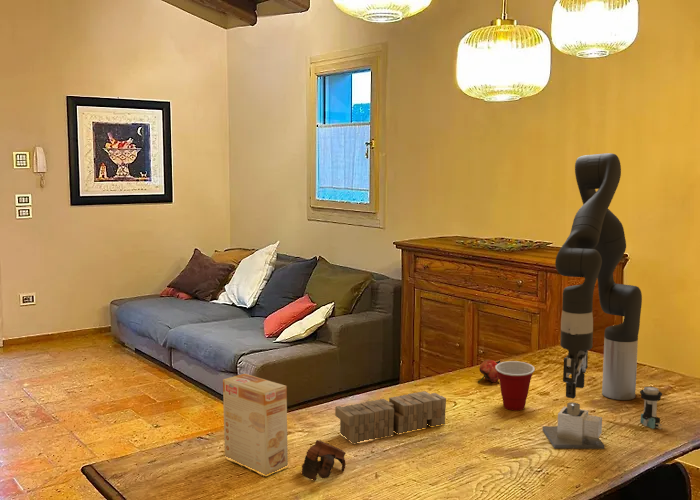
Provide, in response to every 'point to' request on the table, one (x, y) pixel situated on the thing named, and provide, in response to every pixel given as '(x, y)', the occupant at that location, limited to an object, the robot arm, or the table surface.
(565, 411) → the grey hollow block
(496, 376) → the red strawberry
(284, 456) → the coffeecake box
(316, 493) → the table surface
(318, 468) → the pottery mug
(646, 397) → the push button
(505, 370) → the plastic cup
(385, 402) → the block tower
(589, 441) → the gray square plate
